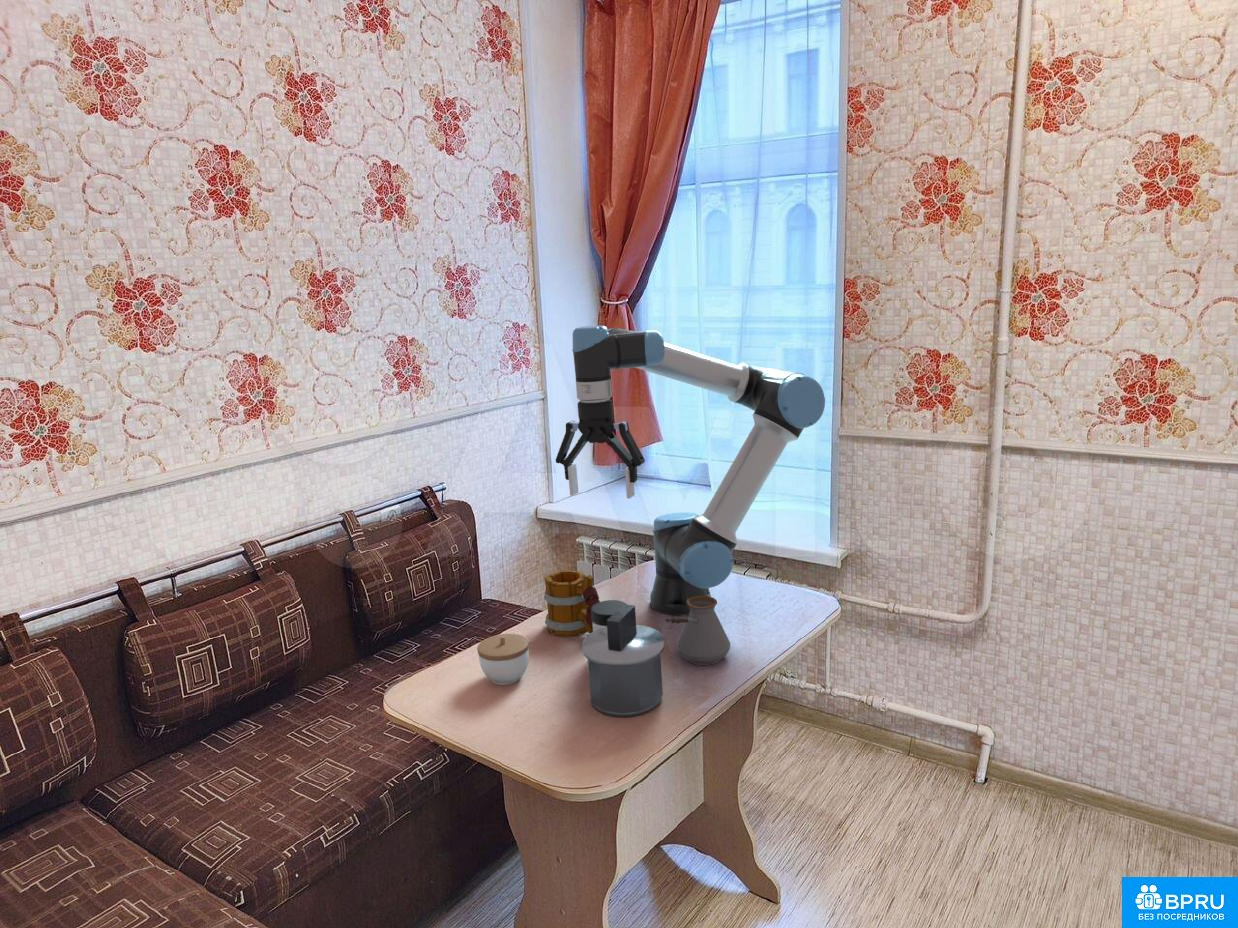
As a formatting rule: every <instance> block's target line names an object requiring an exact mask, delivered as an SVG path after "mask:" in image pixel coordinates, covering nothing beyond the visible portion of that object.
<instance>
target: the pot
mask: <svg viewBox="0 0 1238 928" xmlns="http://www.w3.org/2000/svg"><path fill="white" fill-rule="evenodd" d="M587 635H589V633H588V634H586V635H585V637H586V636H587ZM661 655H662V653H661V654H660V655H659V656H658V657H656V658H655V659H653V660H651V661H648V662H646V663H643V664H639V665H634V666H626V667H611V666H604V665H599V664H596V663H593V662H591V661H589V660H588V659H587V666H588V681H589V694H590V702H591V705H592V708H593V709H594V710H596V712H598V713H599V714H600V713H601V714H602V715H605V716H608V717H613V718H633V717H637V716H643V715H645V714H648V713H650V712H652V711H654V710H655V709H656V708H658V707H659V706H660V704H661V703H662V701H663V695H664V694H663V678H662V677H663V674H662V659H661V658H662V657H661Z"/></svg>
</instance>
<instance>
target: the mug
mask: <svg viewBox="0 0 1238 928" xmlns="http://www.w3.org/2000/svg"><path fill="white" fill-rule="evenodd" d="M544 584H545V591H544V595H543V599H544V601H546V604H547V614H546V616H545V621H544V623H545V625H546V626H547V631H548V632H549V633H550V634H552V635H556V636H561V637H569V636H570V637H572V636H578V635H581V634H583V633H585V632H587V633H588V634H590V633H592V632H593V624H592V618H591V607H592V606H593V605H594V604H596V603H598V602H601V601H600V597H599V593H598V591H597V588H596V587H594V586H593V585H594V577H593V576H592V575H591V574H588V575H587V576H586V574H584V572H581V571H578V570H577V571H576V570H574V569H573V570H571V569H569V570H568V569H566V570H559V571H555V572H552V573H550V574H548V575H547V576H545V577H544Z"/></svg>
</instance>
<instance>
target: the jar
mask: <svg viewBox="0 0 1238 928" xmlns="http://www.w3.org/2000/svg"><path fill="white" fill-rule="evenodd" d="M623 604H625V605H628V603H626V602H625V601H622V600H614V599H611V600H610V599H607V600H603V601H600V602H598V603H596V604H594V605H593V606H592V607H591V618H592V624H593V632H594V631H596V630H598V629H601V628H604V627H607V620H608V619H609V618H610V617H611V616H612V615H613V614H614V613H615V612H616V611H617V610H618V609H619V608H620V607H621V606H622V605H623Z"/></svg>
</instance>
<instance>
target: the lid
mask: <svg viewBox="0 0 1238 928" xmlns="http://www.w3.org/2000/svg"><path fill="white" fill-rule="evenodd" d="M588 634H589V633H588ZM588 634H586V635H587V636H586V635H585V637H584V638H583V640H582V643H581V651H582V655H583V656H584V657H585V659H587V661H588V660H589V661H591V662H593V663H596V664H599V665H604V666H611V667H626V666H634V665H639V664H643V663H646V662H648V661H651V660H653V659H655V658H656V657H658V656H659V655H660V654H661V655H662V653H663V651H664V650H665V638H664V635H663V634H662V633H661V632H660V631H658V630H657V629H655V628H652V627H650V626H646V625H642V624H637V617H636V605H633V604H631V605H630V604H627V605H625V604H623V605H622V606H621V607H620V608H619V609H618V610H617V611H616V612H615V613H614V614H613V615H612V616H611V617H610V618H609V619H608V620H607V627H604V628H601V629H598V630H596V631H594V632H592V633H590V634H589V635H588Z"/></svg>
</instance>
